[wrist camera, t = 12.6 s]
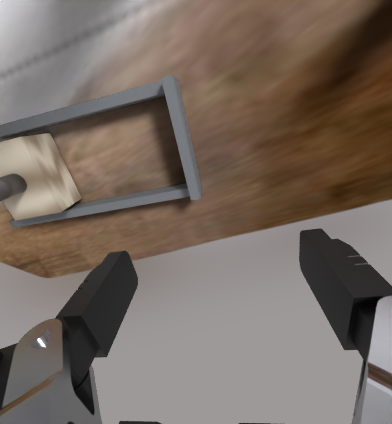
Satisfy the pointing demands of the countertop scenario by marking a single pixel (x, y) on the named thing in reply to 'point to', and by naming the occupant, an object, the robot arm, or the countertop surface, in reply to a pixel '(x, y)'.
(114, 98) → the frame
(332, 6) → the countertop surface
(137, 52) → the countertop surface
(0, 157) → the beige block
